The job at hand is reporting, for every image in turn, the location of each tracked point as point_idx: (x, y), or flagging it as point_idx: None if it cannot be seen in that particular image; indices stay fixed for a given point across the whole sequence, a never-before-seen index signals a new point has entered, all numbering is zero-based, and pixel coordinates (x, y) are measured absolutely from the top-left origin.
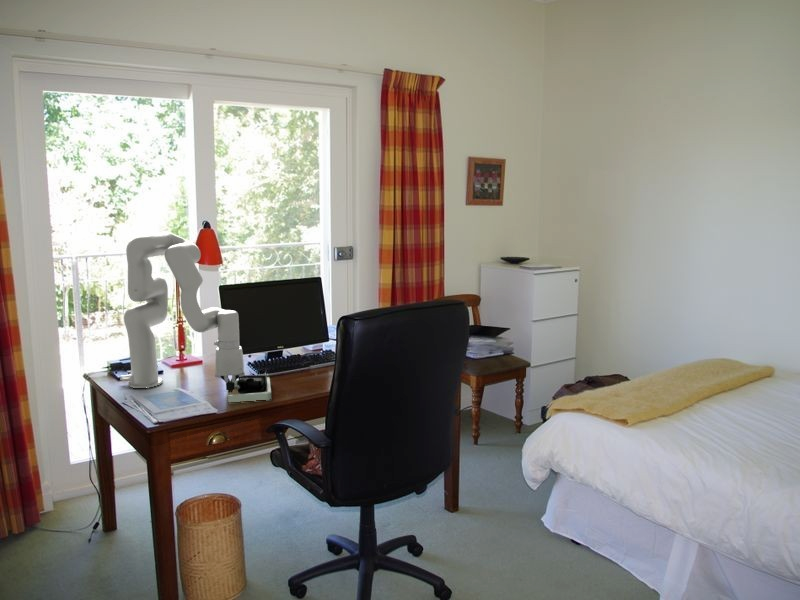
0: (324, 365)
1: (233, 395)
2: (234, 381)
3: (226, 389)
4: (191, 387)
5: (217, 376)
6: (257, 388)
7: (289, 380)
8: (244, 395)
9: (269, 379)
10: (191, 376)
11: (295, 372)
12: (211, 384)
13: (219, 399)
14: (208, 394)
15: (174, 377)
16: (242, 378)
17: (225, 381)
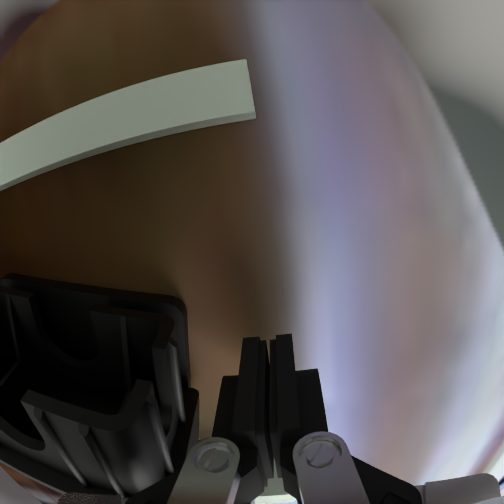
0: (28, 490)
1: (157, 82)
2: (196, 448)
3: (315, 370)
4: (488, 425)
5: (465, 491)
6: (47, 374)
7: None
8: (34, 127)
9: None
10: None
11: None
12: (398, 470)
13: (371, 229)
14: (448, 352)
15: (492, 472)
16: (107, 475)
17: (339, 448)
